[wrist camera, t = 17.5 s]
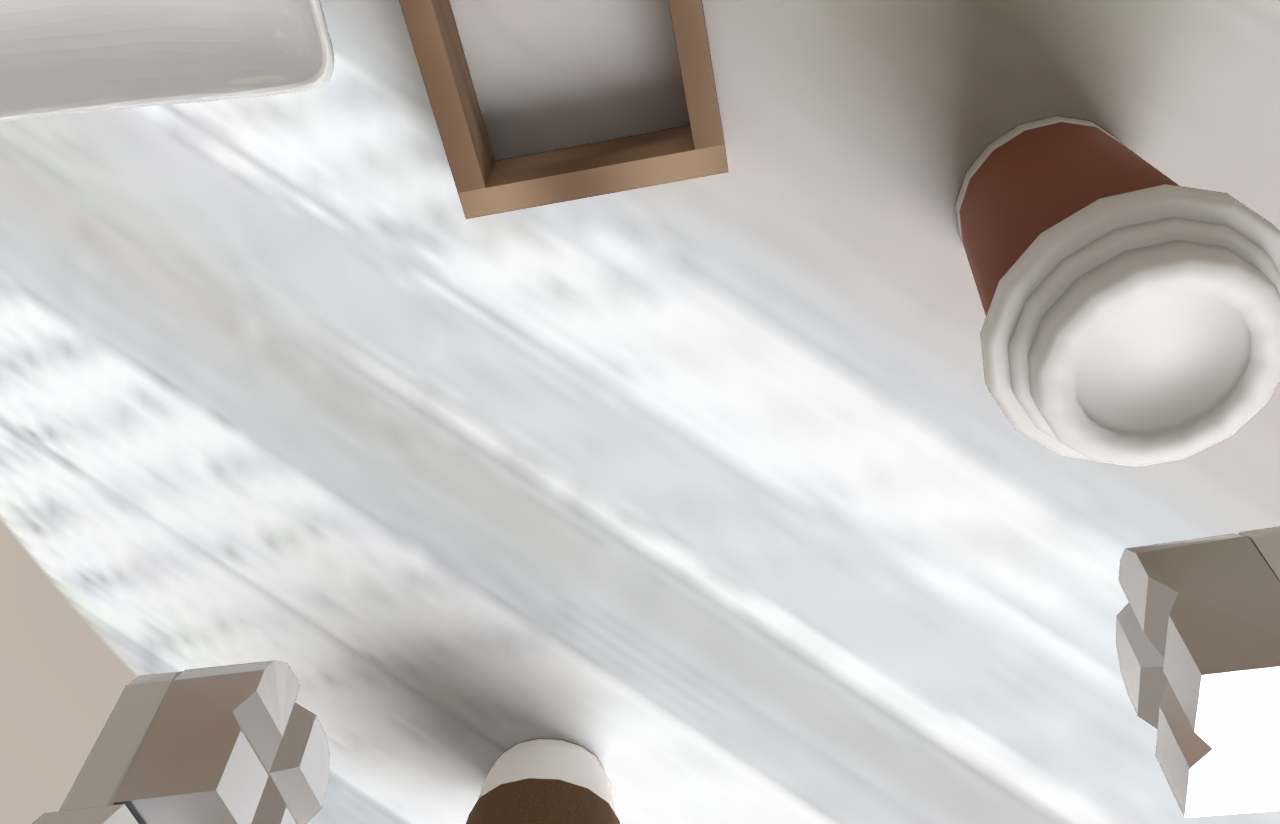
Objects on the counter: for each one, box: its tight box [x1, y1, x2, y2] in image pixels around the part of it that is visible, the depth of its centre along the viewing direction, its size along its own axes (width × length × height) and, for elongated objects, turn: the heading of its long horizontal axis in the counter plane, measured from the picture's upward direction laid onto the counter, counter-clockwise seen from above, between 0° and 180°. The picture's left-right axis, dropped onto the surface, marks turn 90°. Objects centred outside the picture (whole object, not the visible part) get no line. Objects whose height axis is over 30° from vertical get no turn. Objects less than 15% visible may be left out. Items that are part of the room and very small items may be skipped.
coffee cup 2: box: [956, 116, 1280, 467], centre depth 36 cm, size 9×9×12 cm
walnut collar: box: [399, 0, 728, 219], centre depth 37 cm, size 9×9×2 cm
